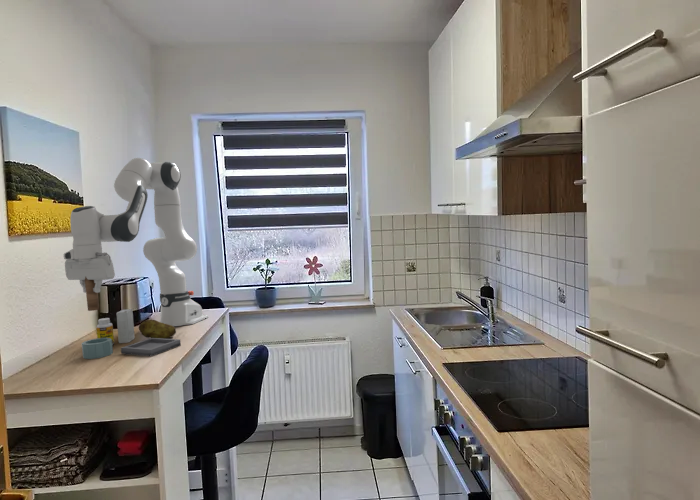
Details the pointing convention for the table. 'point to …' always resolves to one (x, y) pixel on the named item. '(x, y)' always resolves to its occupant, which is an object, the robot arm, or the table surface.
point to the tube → (97, 348)
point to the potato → (156, 329)
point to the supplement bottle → (105, 329)
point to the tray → (150, 346)
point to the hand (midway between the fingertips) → (92, 292)
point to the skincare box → (125, 326)
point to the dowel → (91, 295)
